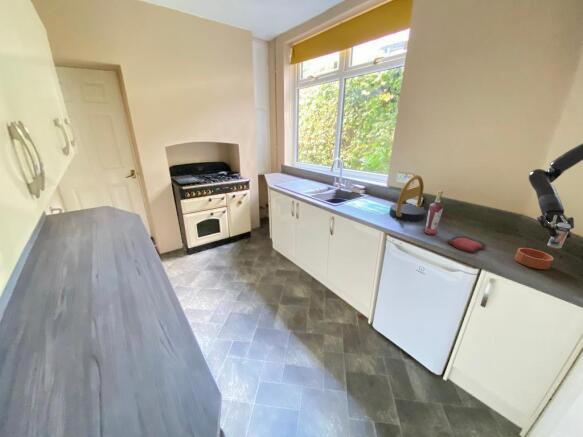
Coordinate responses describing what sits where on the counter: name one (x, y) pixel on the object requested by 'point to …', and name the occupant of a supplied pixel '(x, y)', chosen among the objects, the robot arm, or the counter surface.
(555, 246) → the beer can
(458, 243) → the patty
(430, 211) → the liquor
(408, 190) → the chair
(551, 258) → the bowl
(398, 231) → the counter surface
